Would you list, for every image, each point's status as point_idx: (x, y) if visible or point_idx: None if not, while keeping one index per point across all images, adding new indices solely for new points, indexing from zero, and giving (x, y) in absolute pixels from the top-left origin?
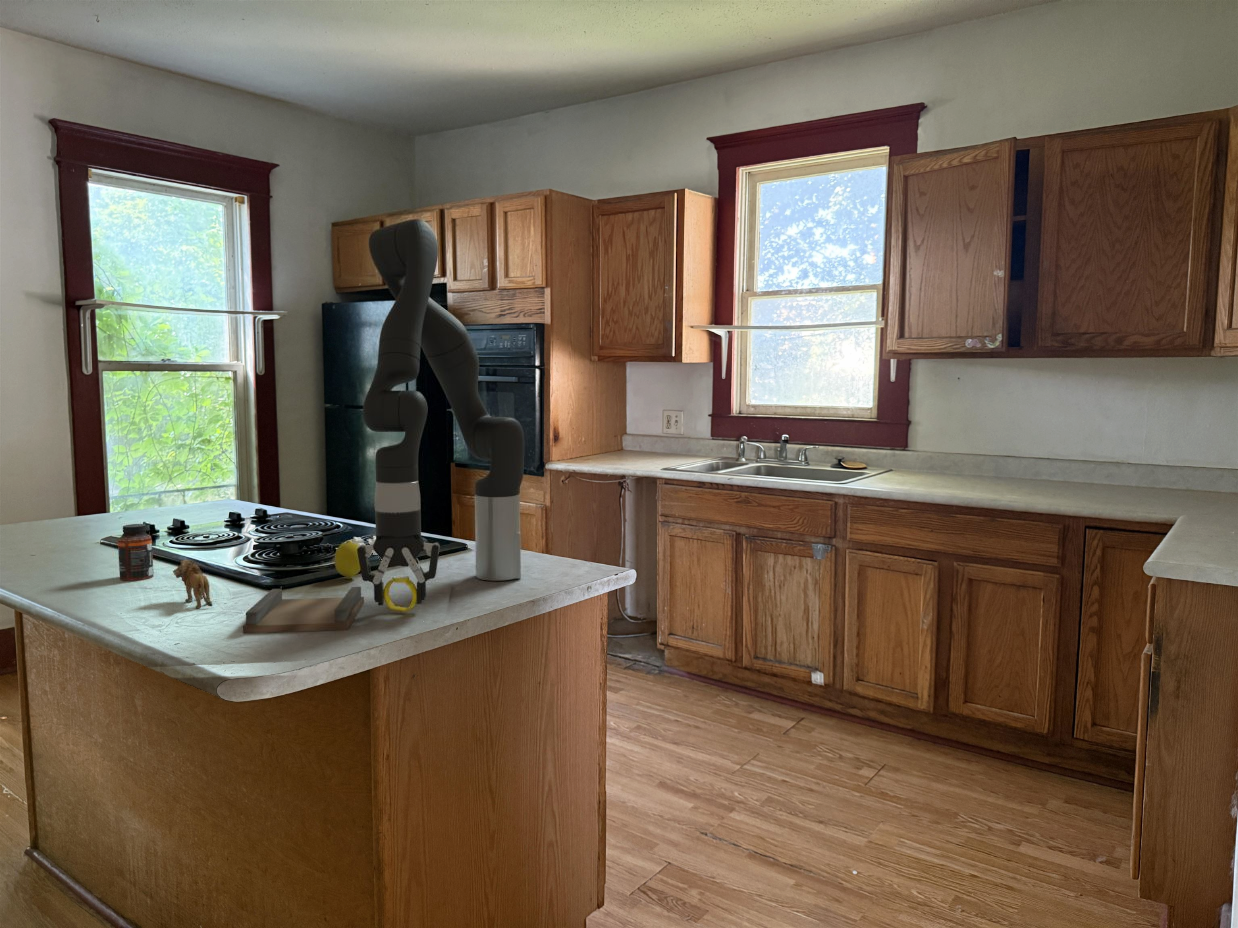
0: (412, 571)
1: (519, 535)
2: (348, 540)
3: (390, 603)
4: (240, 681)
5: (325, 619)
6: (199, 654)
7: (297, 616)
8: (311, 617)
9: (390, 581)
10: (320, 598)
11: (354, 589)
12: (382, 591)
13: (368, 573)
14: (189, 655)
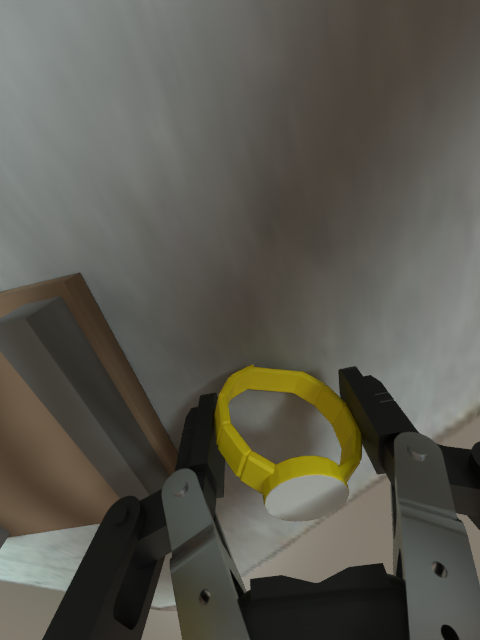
0: (393, 562)
1: None
2: None
3: (239, 386)
4: (176, 610)
5: None
6: (43, 577)
7: (42, 490)
8: (84, 492)
9: (251, 483)
10: None
11: (42, 373)
12: (220, 453)
13: (158, 576)
14: (33, 579)
